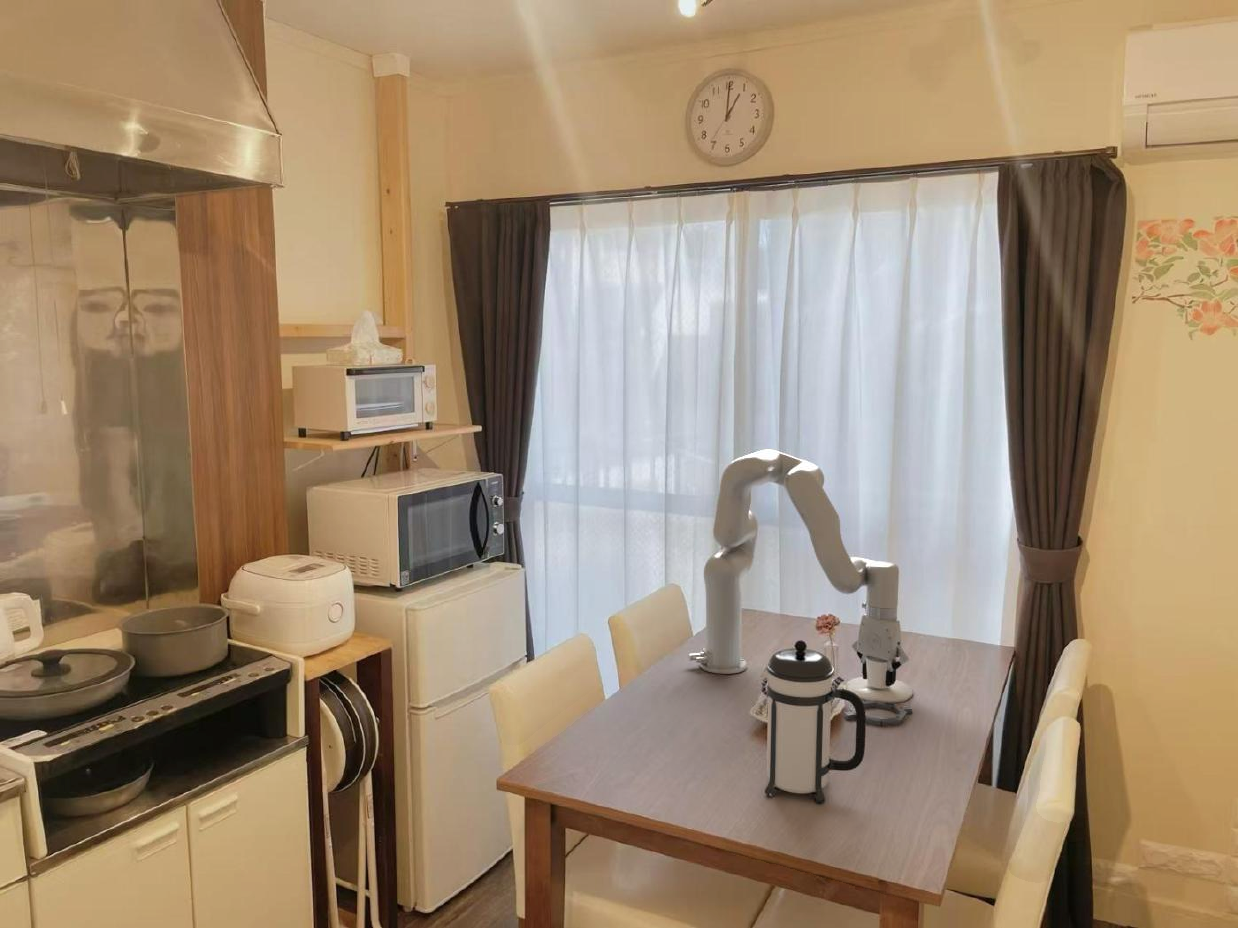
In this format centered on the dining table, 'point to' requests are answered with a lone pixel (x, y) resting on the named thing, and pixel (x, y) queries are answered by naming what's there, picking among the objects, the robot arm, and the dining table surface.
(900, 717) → the collar
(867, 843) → the dining table surface
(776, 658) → the coffee press
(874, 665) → the white cup
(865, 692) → the saucer
